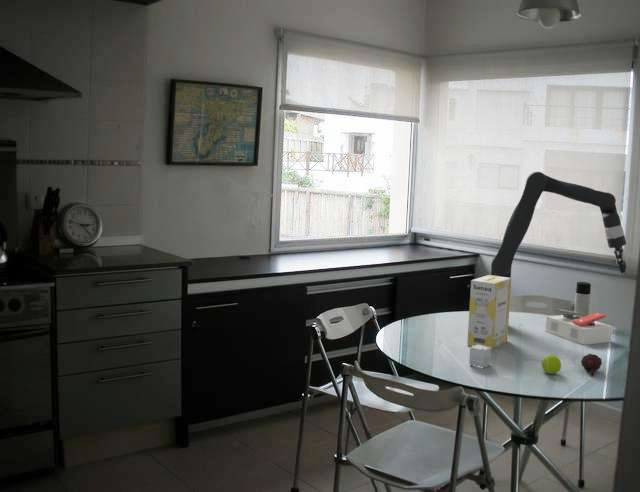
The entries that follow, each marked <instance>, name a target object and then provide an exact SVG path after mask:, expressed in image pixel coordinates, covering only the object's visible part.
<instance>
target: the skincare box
mask: <svg viewBox="0 0 640 492" xmlns="http://www.w3.org/2000/svg"><path fill="white" fill-rule="evenodd" d="M491 354H492V349H491V347H487V346H482V345H478V344H477V345H475V346H470V348H469V359H468V360H469V361H468V363H469V364H471V365H475V366H480V367H485V366H487V367H489V366H491ZM469 364H468V365H469ZM488 365H489V366H488ZM485 368H486V367H485Z"/></svg>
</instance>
